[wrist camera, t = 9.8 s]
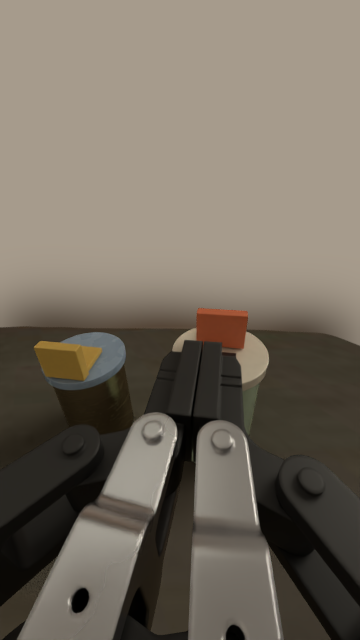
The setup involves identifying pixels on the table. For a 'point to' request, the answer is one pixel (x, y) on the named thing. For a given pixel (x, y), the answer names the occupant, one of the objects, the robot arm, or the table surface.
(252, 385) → the sage cup
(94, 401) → the blue-grey lidded canister
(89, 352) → the block
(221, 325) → the block
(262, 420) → the table surface
